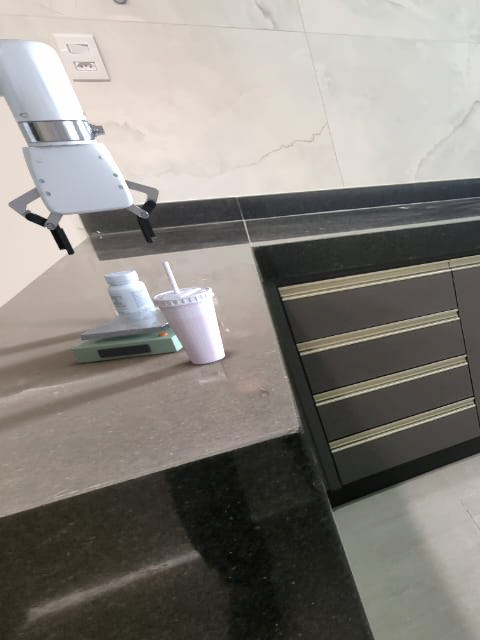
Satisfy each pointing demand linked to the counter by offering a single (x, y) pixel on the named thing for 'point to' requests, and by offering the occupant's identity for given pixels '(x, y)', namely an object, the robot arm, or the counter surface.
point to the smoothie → (192, 320)
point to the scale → (127, 346)
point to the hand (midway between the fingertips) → (112, 247)
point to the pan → (129, 325)
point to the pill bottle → (128, 292)
